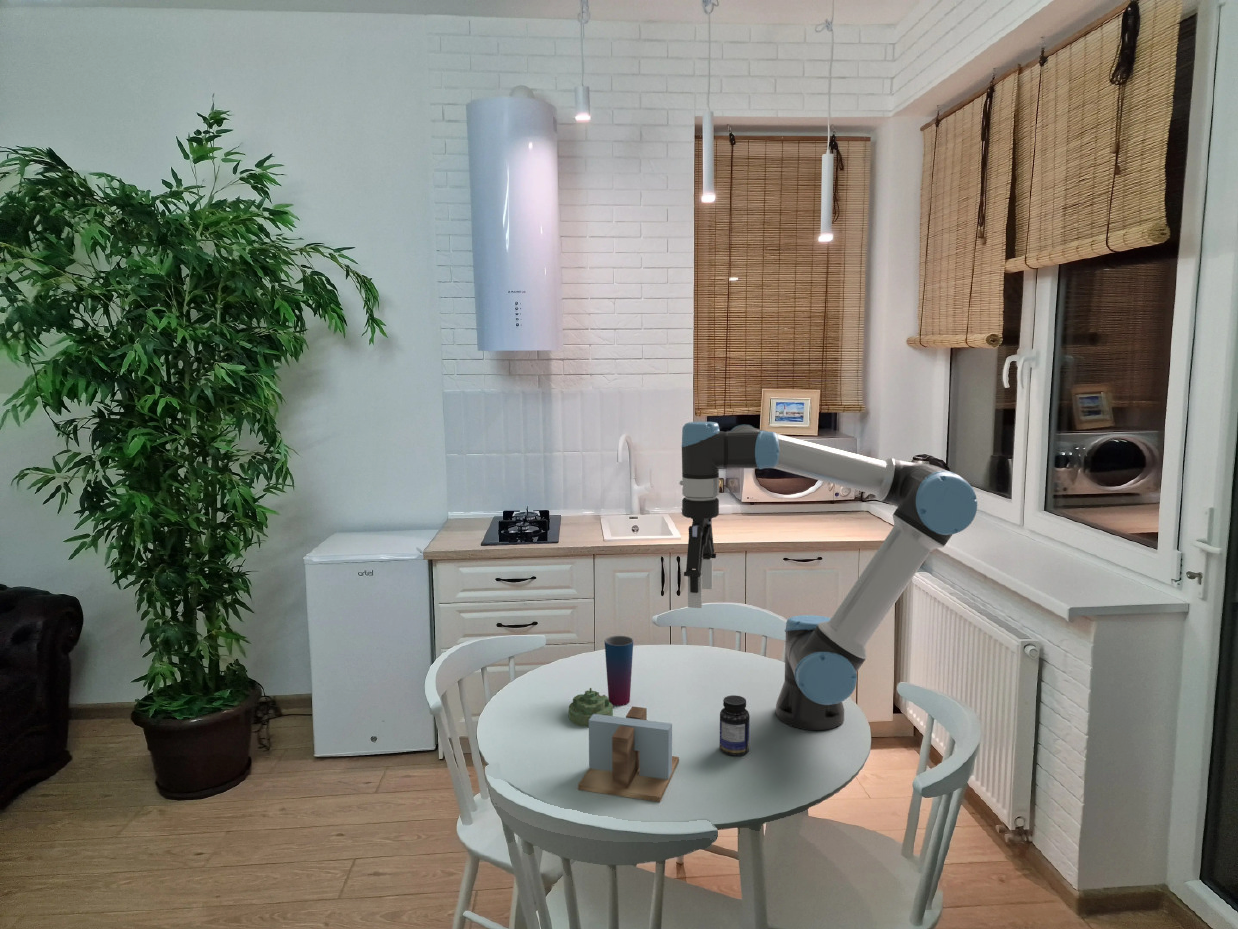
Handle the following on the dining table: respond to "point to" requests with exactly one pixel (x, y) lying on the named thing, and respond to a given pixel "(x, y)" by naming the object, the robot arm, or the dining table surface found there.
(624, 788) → the jig
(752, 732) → the dining table surface
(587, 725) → the decorative artifact
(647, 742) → the slotted plate
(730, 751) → the pill bottle
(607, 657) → the cup
